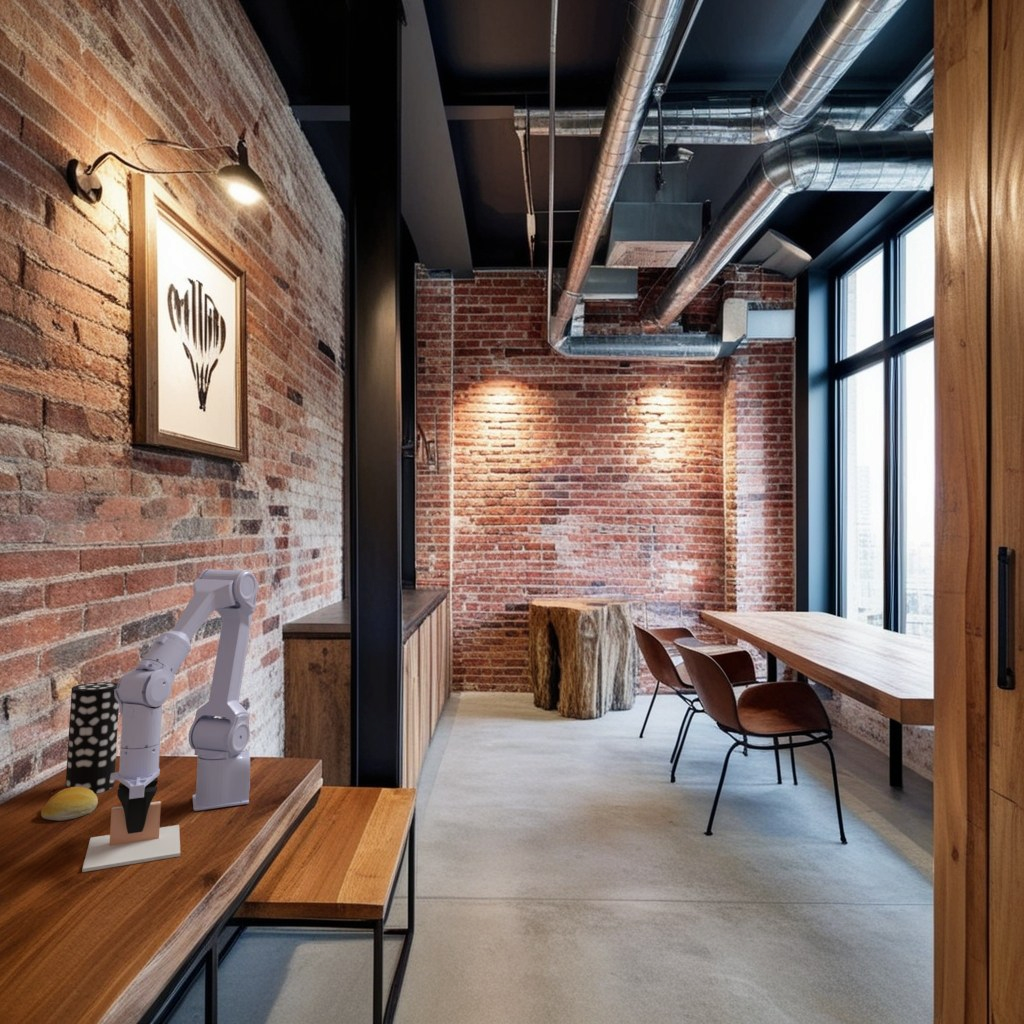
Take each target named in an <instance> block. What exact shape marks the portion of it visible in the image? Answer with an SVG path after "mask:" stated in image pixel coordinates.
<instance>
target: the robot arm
mask: <svg viewBox="0 0 1024 1024" xmlns="http://www.w3.org/2000/svg"><path fill="white" fill-rule="evenodd" d="M192 585H193V586H192V591H193V595H192V597H191V599H190V600H189V602H188V604H187V605H186V607H185V608H184V610H183V612H182V613H181V615H180V617H179V618H178V620H177V621H176V622H175V625H174V626H173V628H172V630H171V631H167V632H163V633H161V634H159V635H158V636H157V637H156V639H155V640H154V643H153V644H152V645H151V647H150V648H149V649H148V651H147V652H146V654H145V655H144V657H142V659H141V661H140V662H139V664H138V665H137V666H136V667H135V668H134V669H131V670H130V671H127V672H126V673H125V674H123V675H122V676H121V677H120V679H119V681H118V682H117V683H118V685H117V688H116V689H115V690H114V694H115V698H116V700H117V702H118V703H119V713H120V716H121V731H120V746H119V747H120V749H119V766H118V767H119V768H118V771H117V772H116V771H115V773H111V776H110V780H115V781H118V782H120V783H119V784H118V788H117V793H116V794H117V798H118V800H119V801H120V803H121V806H123V809H124V813H125V820H126V827H127V832H128V834H130V833H137V832H142V831H143V829H144V826H145V822H146V817H147V813H148V809H149V806H150V803H151V802H153V799H154V797H155V795H156V794H157V791H158V785H157V784H158V782H159V780H158V779H159V778H158V777H159V776H160V775H161V773H160V772H161V768H160V753H161V752H160V751H161V750H160V749H161V734H162V733H161V732H162V714H163V713H162V712H163V704H165V703H166V701H167V700H168V699H169V698H170V697H171V695H172V691H173V683H174V682H175V680H176V679H175V678H176V675H175V674H176V673H177V672H178V670H179V668H180V667H181V666H182V664H184V663H183V662H184V661H185V660H186V658H187V657H188V656H189V654H190V653H191V651H192V647H191V639H192V638H193V637H194V636H195V634H196V633H197V632H198V631H199V629H200V628H201V627H202V626H203V625H204V623H205V622H206V621H207V619H208V618H209V617H210V616H211V615H212V614H213V612H214V611H215V612H217V613H218V615H219V616H220V617H221V619H222V622H221V629H220V633H219V634H220V635H219V640H218V646H217V650H216V651H217V652H216V659H215V663H214V669H213V675H212V676H213V677H212V679H211V680H212V681H211V686H210V693H209V699H208V701H207V702H205V704H203V705H202V706H201V707H199V708H198V709H196V711H195V717H194V720H193V723H192V724H191V726H190V729H189V731H188V744H189V746H190V748H191V749H193V750H194V754H193V755H195V756H197V761H196V764H197V765H196V783H195V784H196V785H195V787H196V788H195V794H192V796H191V797H192V807H193V811H195V812H196V811H197V812H198V811H206V810H213V809H220V808H227V807H234V806H241V805H248V804H250V800H249V799H250V789H251V780H250V778H251V755H250V754H251V753H250V751H248V750H246V751H244V749H245V748H246V747H247V746H248V743H249V740H250V734H251V731H250V724H249V723H250V722H249V721H250V715H251V714H250V712H249V711H248V710H246V708H245V707H244V706H243V705H242V704H241V703H240V701H239V700H240V695H241V694H240V693H241V688H242V682H243V676H244V669H245V662H246V657H247V650H248V644H249V641H250V639H249V638H250V634H251V633H250V632H251V625H252V621H253V613H255V610H256V605H257V598H258V592H259V585H260V584H259V582H258V580H257V579H256V576H255V574H254V573H253V572H252V571H251V570H249V569H242V570H236V569H214V568H206V569H204V570H202V571H201V572H200V573H199V575H198V576H197V579H196V580H195V581H193V584H192ZM220 717H222V718H220Z"/></svg>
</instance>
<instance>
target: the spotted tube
mask: <svg viewBox="0 0 1024 1024" xmlns="http://www.w3.org/2000/svg"><path fill="white" fill-rule="evenodd" d="M117 685H118V682H112V681H111V682H108V681H107V682H106V681H105V682H91V683H90V682H89V683H82V684H78V685H73V686H72V687H71V692H70V695H71V697H70V709H69V710H70V712H69V725H68V737H67V738H68V739H67V740H68V741H67V753H66V754H67V757H66V768H65V769H66V770H65V771H66V772H65V786H64V789H66V788H70V787H84V788H88V789H90V790H92V791H93V792H94V793H95V794H96V795H98V794H100V793H104V792H107V791H109V790H111V789H113V787H115V781H116V780H110V776H111V773H115V772H116V760H117V744H118V729H119V727H118V725H119V709H120V706H119V703H118V702H117V700H116V698H115V694H114V690H115V689H116V688H117Z"/></svg>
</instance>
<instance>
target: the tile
mask: <svg viewBox="0 0 1024 1024" xmlns="http://www.w3.org/2000/svg"><path fill="white" fill-rule="evenodd" d="M161 807H162V800H161V801H160V800H159V801H151V803H150V806H149V809H148V813H147V817H146V822H145V826H144V829H143V831H142V832H137V833H130V834H128V832H127V827H126V820H125V813H124V809H123V806H122V805H120V806H112V807H111V812H110V813H111V814H110V828H109V830H110V831H109V835H110V844H109V846H112V845H118V844H125V843H132V842H138V841H145V840H152V839H158V838H159V828H161V826H160V825H161V824H160V823H161V811H162V810H161Z"/></svg>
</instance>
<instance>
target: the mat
mask: <svg viewBox="0 0 1024 1024" xmlns="http://www.w3.org/2000/svg"><path fill="white" fill-rule="evenodd" d="M180 836H181V835H180V824H175V825H168V826H162V827H161V826H160V828H159V838H158V839H152V840H145V841H138V842H132V843H125V844H118V845H112V846H109V844H110V834H105V835H100V836H99V835H98V836H93V837H92V836H91V837H90V839H89V843H88V847H87V850H86V852H85V853H86V855H85V857H84V858H85V859H84V861H83V864H82V865H83V866H82V872H81V873H85V872H92V871H97V870H104V869H110V868H117V867H122V866H129V865H134V864H142V863H148V862H153V861H159V860H165V859H166V860H167V859H171V858H178V857H181V837H180Z"/></svg>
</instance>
